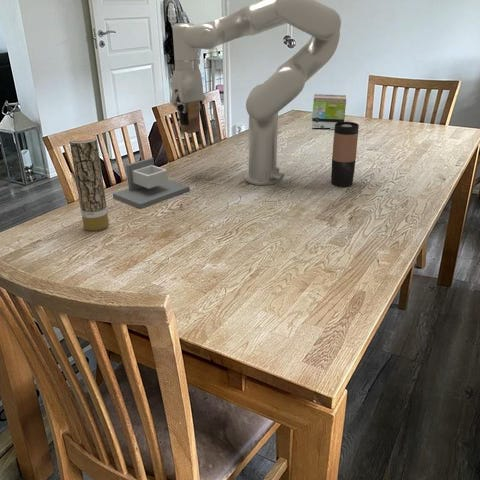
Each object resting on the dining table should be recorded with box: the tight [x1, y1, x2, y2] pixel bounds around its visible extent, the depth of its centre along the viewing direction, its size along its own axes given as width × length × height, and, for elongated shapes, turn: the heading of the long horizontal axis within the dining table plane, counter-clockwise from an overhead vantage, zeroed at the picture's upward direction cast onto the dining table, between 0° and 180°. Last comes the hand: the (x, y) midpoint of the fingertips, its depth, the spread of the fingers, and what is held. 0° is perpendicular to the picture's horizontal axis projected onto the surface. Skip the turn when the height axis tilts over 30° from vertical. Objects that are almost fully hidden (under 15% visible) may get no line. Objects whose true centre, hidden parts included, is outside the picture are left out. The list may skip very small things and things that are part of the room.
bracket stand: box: [112, 157, 191, 210], centre depth 157 cm, size 14×20×10 cm
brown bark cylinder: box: [68, 133, 110, 232], centre depth 131 cm, size 7×7×25 cm
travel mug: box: [330, 121, 360, 188], centre depth 161 cm, size 8×8×20 cm
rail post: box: [180, 101, 201, 134], centre depth 164 cm, size 4×4×10 cm
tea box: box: [311, 93, 347, 130], centre depth 233 cm, size 15×10×15 cm
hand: (190, 122), depth 165 cm, fingers closed on rail post, 4 cm apart
